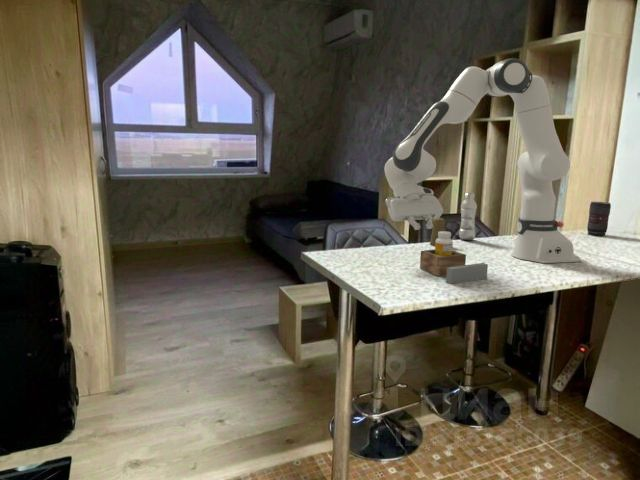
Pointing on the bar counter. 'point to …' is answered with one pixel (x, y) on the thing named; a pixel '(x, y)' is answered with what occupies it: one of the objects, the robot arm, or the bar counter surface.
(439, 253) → the supplement bottle
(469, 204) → the plastic bottle
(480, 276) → the slate wall
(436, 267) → the walnut socket block
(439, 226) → the cork
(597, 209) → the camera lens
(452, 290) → the bar counter surface
